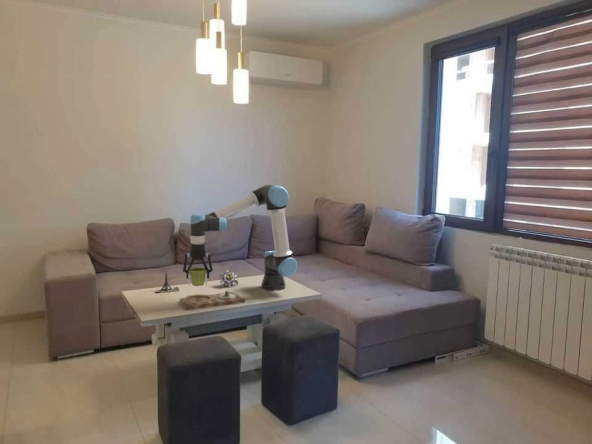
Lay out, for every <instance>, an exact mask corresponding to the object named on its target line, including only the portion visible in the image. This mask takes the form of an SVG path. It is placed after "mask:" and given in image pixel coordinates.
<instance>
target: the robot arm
mask: <svg viewBox="0 0 592 444" xmlns="http://www.w3.org/2000/svg"><path fill="white" fill-rule="evenodd" d="M288 202H289V193H288V191H287V189H286V188H284V187H283V186H281V185H277V184H275V185H274V184H273V185H272V184H267V185H266V184H265V185H262V186H260V187H258V188H257V189H255V190H253V191H251V192H249V194H248V195H246V196H244V197H241V198H239V199H238V200H235V201H233V202H231V203H229V204H227V205H225V206H223V207H220V208H219V209H217V210H214V211H212V212H210V213H208V214H202V213H195V214H192V215H190V223H189V224H190V251H189V252H188V253H185V254H184V264H183V269H182V272H183V273H185V274H186V277H185V278H186V280H188V286H191V273H190V271H189V270H190V269H191V268H192V266H193V263H194V262H196V261H201V263H202V264H203V265H202V266H203V268H205V269H206V273H205V279H204V285H205V286H207V285H208V279H210V273H211V272H213V264H212V258H211V255H212V253H211V252H209V253H208V252H206V233H207V232H209V233H210V232H224V231H226V230H227V228H228V227H227V226H228V222H227V220H230V219H232V218H234V217H235V216H237V215H239V214H242V213H244V212H245V211H248V210H250V209H252V208H254V207H255V208H258V207H260V206H263V205H264V206H266V211H268V212H269V215H270V216H269V217H270V223H271V228H272V229H271V230H272V237H273V245H274V246H273V247H274V250H270V251H269V250H268V251H265V252H264V255H263V256H264V257H263V258H264V263H263V264H264V265H263V269H264V275H263V279H262V281H261V289H264V290H266V289H267V290H269V291H279V289H281V290H284V289H285V288H286V286H287V285H286V281H285V277H286V278H287V277H292V276H293V275H294V274H295V273H296V271H297V269H298V262H297V260H296V259H295V258H294V255H293V250H291V249H290V243H289V236H288V234H289V233H288V227H287V219H286V211H285V210H286V209H287V203H288ZM189 257H191V261H190V263H189V265H187V264H188V259H189ZM205 257H206V258H207V262H208V265H207V263H206V261H205ZM187 266H188V267H187ZM283 288H284V289H283Z"/></svg>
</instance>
